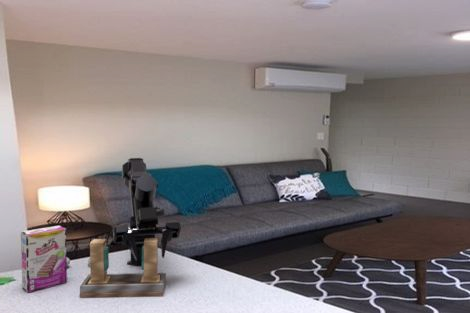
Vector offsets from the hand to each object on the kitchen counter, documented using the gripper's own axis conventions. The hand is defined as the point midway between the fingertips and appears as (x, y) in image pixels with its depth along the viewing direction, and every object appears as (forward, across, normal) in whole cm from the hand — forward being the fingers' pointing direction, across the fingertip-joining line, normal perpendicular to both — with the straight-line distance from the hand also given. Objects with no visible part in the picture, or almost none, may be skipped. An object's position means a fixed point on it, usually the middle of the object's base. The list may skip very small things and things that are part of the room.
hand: (150, 258), depth 120 cm
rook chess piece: (-12, -14, +25) cm, 31 cm away
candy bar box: (-2, -28, +16) cm, 32 cm away
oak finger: (+5, 0, +7) cm, 8 cm away
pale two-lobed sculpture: (-11, -25, +25) cm, 37 cm away
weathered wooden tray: (+4, -7, +9) cm, 12 cm away
